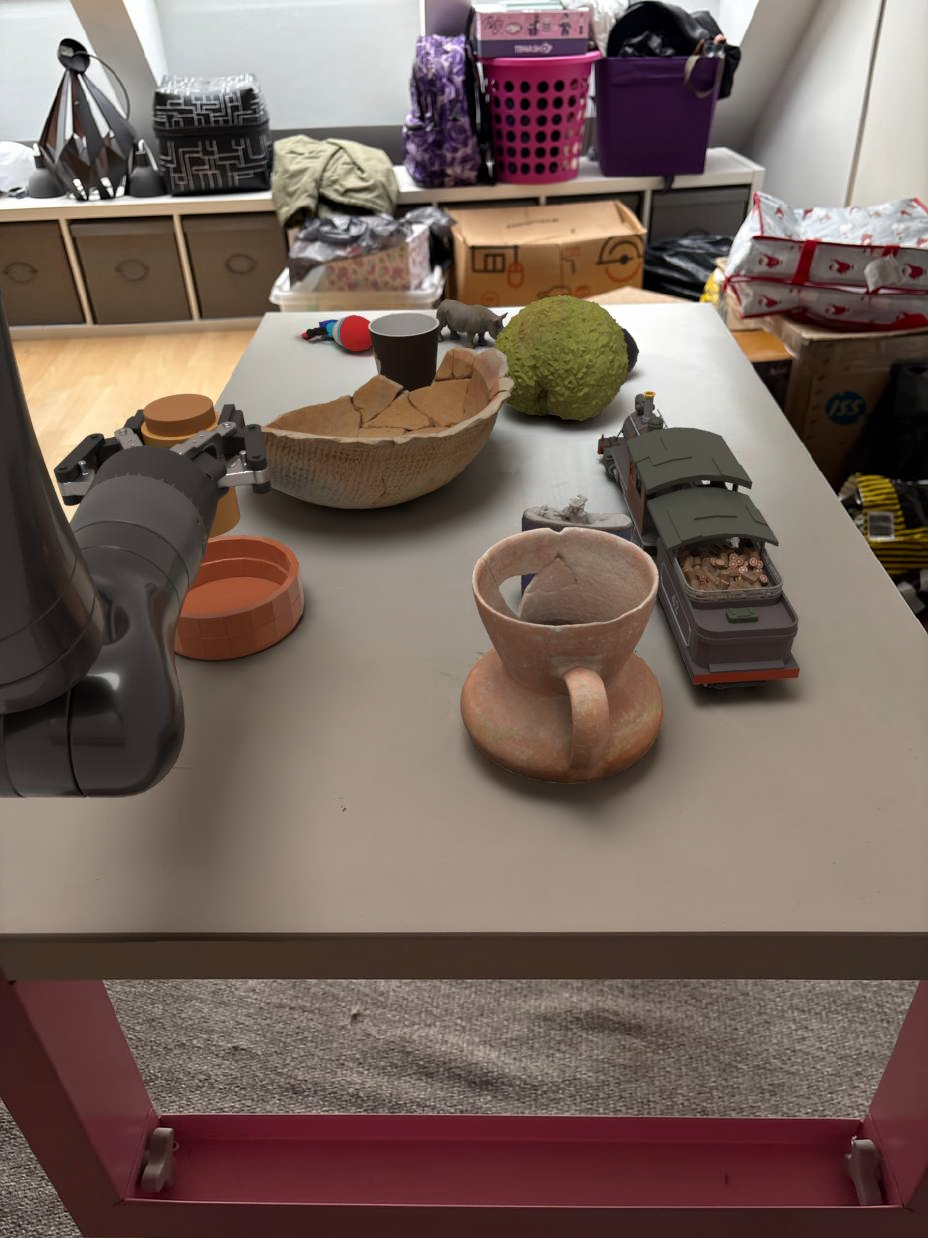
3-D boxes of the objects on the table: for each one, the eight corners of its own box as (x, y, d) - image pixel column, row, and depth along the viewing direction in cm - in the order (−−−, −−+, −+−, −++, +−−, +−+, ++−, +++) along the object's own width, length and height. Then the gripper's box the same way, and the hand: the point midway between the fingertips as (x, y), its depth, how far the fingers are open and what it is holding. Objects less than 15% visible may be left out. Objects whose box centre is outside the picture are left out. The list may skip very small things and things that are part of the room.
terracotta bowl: (141, 667, 79) (128, 623, 76) (169, 581, 90) (159, 539, 87) (299, 656, 80) (292, 612, 77) (309, 572, 90) (302, 530, 88)
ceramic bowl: (312, 401, 118) (315, 282, 109) (522, 460, 114) (545, 341, 104) (184, 527, 96) (174, 390, 86) (439, 605, 92) (458, 471, 82)
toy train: (587, 449, 109) (591, 354, 103) (665, 445, 109) (674, 350, 103) (683, 709, 73) (699, 587, 66) (800, 701, 73) (828, 579, 66)
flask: (627, 601, 84) (635, 493, 78) (624, 621, 82) (632, 511, 76) (523, 592, 86) (522, 485, 80) (517, 611, 84) (516, 502, 78)
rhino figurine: (508, 358, 133) (507, 315, 130) (429, 341, 140) (426, 300, 136) (524, 349, 136) (524, 307, 132) (445, 333, 143) (444, 292, 139)
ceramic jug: (456, 668, 78) (448, 513, 69) (635, 657, 78) (648, 502, 70) (469, 839, 63) (461, 669, 55) (689, 825, 63) (714, 653, 55)
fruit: (493, 442, 111) (461, 311, 109) (524, 436, 125) (497, 319, 122) (630, 407, 106) (600, 268, 103) (648, 405, 119) (621, 281, 117)
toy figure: (298, 348, 144) (351, 357, 133) (293, 314, 142) (347, 320, 131) (341, 340, 148) (396, 348, 137) (337, 307, 146) (392, 312, 135)
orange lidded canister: (158, 542, 70) (128, 425, 65) (172, 505, 75) (146, 393, 69) (235, 538, 70) (212, 420, 65) (244, 501, 75) (223, 389, 70)
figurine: (592, 324, 120) (573, 297, 136) (577, 377, 123) (561, 345, 139) (649, 337, 121) (624, 308, 137) (634, 389, 124) (611, 355, 140)
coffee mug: (435, 417, 118) (431, 337, 112) (367, 414, 119) (359, 335, 114) (453, 381, 127) (450, 305, 121) (390, 379, 129) (383, 304, 123)
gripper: (252, 469, 55) (280, 363, 69) (-3, 485, 54) (76, 375, 68) (272, 580, 59) (294, 458, 73) (36, 595, 59) (103, 470, 72)
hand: (189, 418), depth 70 cm, fingers closed on orange lidded canister, 5 cm apart
